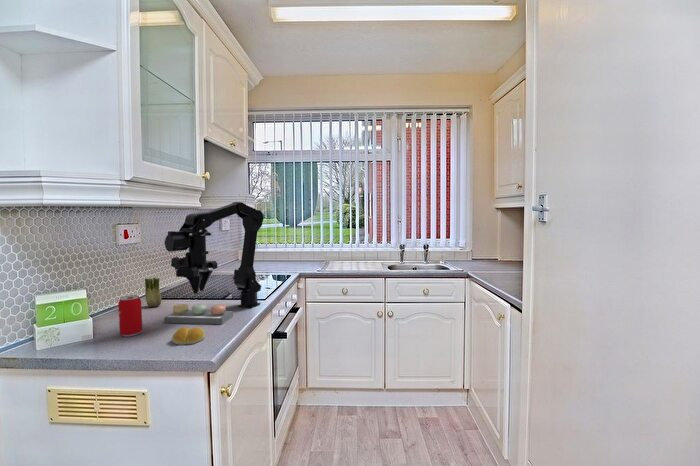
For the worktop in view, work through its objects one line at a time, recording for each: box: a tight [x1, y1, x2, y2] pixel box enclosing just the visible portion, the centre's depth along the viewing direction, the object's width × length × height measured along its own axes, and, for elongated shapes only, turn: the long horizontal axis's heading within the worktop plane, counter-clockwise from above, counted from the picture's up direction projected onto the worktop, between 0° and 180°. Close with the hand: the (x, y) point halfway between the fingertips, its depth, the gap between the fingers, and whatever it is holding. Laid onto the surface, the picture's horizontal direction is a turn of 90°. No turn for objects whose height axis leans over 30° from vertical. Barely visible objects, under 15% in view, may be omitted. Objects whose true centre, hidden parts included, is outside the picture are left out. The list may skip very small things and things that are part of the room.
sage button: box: [191, 303, 208, 314], centre depth 129 cm, size 5×5×2 cm
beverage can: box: [117, 294, 143, 338], centre depth 114 cm, size 6×6×12 cm
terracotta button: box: [210, 304, 227, 314], centre depth 128 cm, size 5×5×2 cm
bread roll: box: [171, 327, 206, 345], centre depth 109 cm, size 8×9×4 cm
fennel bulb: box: [144, 277, 162, 308], centre depth 146 cm, size 6×5×12 cm
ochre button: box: [172, 303, 189, 313], centre depth 129 cm, size 5×5×2 cm
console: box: [163, 309, 234, 325], centre depth 129 cm, size 9×21×2 cm, turn 85°
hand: (198, 292), depth 128 cm, fingers open, 4 cm apart
